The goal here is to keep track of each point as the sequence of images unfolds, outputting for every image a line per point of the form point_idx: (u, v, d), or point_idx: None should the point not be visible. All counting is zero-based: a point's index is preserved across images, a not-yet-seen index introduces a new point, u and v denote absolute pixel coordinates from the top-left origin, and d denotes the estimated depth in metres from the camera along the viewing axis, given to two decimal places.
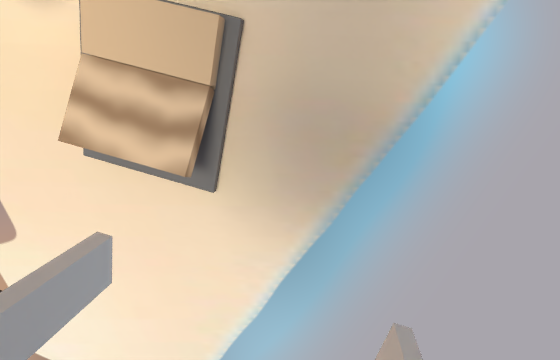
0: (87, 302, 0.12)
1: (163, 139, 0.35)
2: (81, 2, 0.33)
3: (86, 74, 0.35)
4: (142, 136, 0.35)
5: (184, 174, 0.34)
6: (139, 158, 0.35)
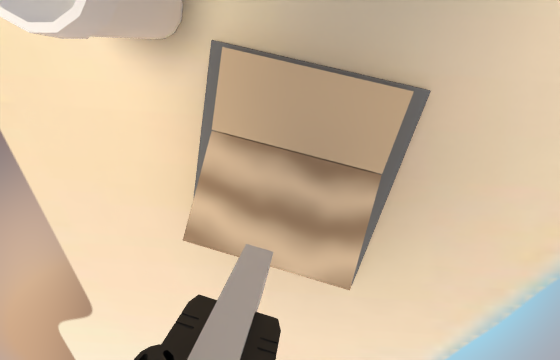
0: None
1: (320, 241, 0.27)
2: (220, 71, 0.26)
3: (218, 157, 0.28)
4: (292, 237, 0.27)
5: (349, 286, 0.27)
6: (289, 264, 0.27)
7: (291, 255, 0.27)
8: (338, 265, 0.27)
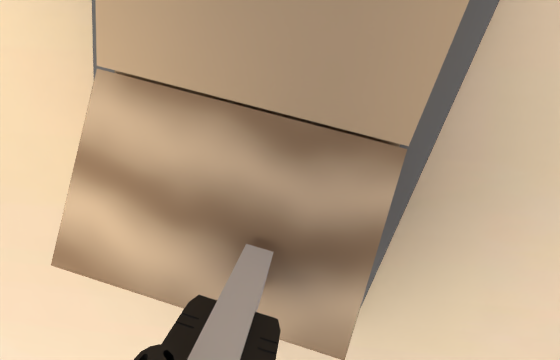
0: None
1: (292, 271, 0.15)
2: None
3: (109, 117, 0.15)
4: None
5: (343, 354, 0.15)
6: None
7: None
8: (324, 315, 0.15)
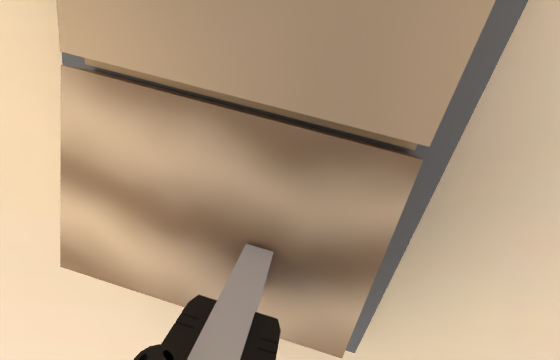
0: None
1: (290, 281, 0.15)
2: None
3: (85, 122, 0.14)
4: None
5: (340, 353, 0.15)
6: None
7: None
8: (323, 321, 0.15)
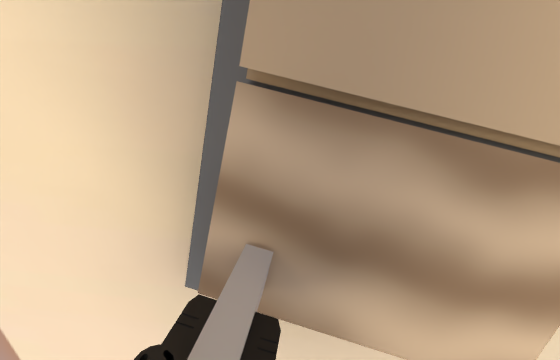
0: None
1: (468, 312, 0.14)
2: None
3: (254, 142, 0.13)
4: (408, 302, 0.14)
5: None
6: (397, 345, 0.15)
7: (403, 331, 0.14)
8: (498, 354, 0.14)
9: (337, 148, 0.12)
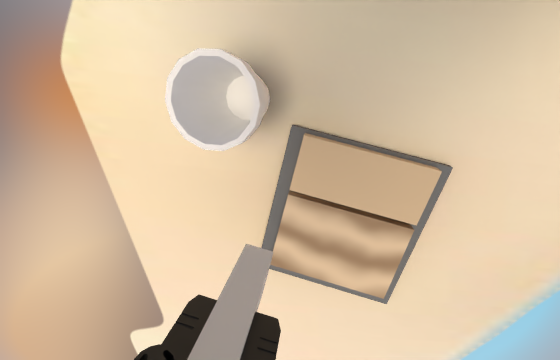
0: None
1: (365, 269, 0.39)
2: (300, 151, 0.36)
3: (293, 213, 0.39)
4: (345, 266, 0.40)
5: (383, 296, 0.40)
6: (343, 282, 0.41)
7: (344, 277, 0.40)
8: (377, 284, 0.40)
9: (320, 215, 0.38)
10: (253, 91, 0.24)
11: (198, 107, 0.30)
